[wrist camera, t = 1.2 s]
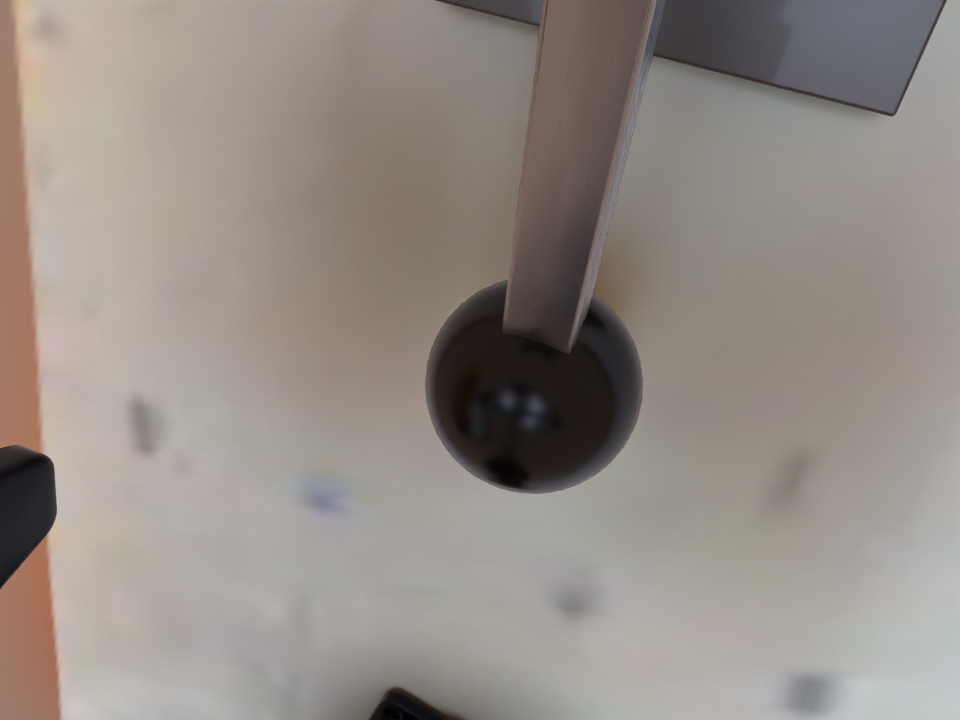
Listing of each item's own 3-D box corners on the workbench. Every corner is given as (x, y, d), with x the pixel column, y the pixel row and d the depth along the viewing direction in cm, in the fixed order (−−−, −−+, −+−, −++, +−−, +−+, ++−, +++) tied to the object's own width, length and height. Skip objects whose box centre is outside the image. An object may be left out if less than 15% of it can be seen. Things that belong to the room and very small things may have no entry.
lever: (639, 399, 16) (589, 561, 13) (467, 342, 16) (392, 488, 14) (1284, -1309, 4) (1661, -2095, 2) (586, -1278, 5) (264, -1840, 2)
